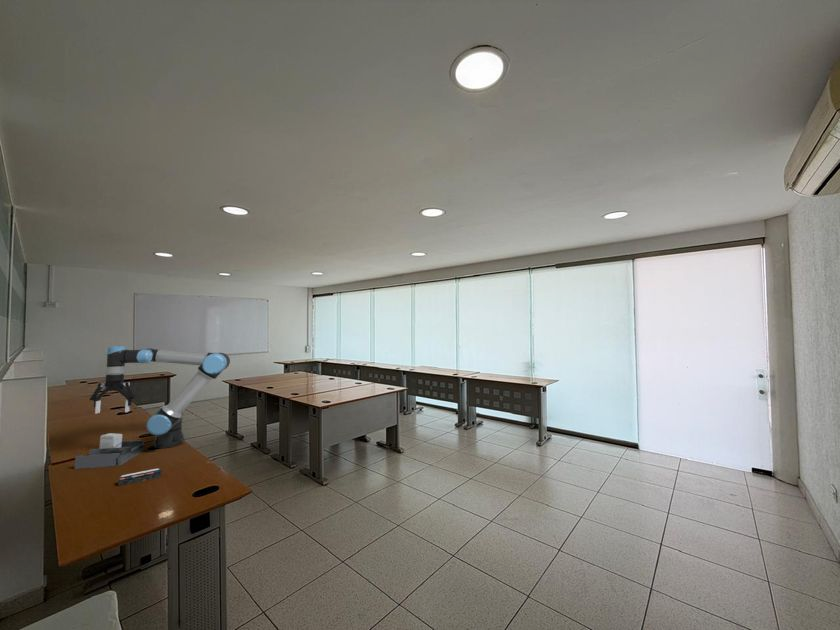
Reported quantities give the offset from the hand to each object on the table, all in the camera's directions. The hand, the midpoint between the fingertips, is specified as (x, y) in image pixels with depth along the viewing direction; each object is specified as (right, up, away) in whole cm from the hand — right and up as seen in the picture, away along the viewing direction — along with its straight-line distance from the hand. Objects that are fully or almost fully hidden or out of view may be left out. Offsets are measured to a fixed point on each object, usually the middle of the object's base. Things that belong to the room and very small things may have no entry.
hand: (112, 412), depth 183 cm
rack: (+4, -24, -6) cm, 25 cm away
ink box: (0, -24, -1) cm, 24 cm away
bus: (+39, -24, -31) cm, 54 cm away
